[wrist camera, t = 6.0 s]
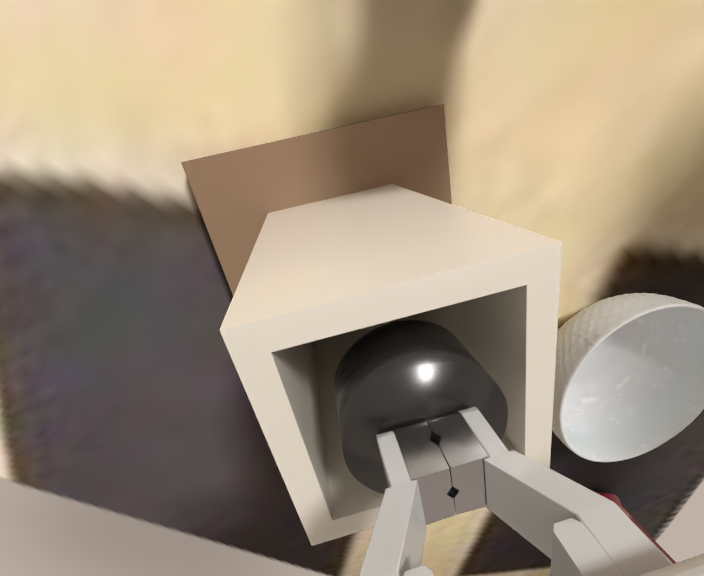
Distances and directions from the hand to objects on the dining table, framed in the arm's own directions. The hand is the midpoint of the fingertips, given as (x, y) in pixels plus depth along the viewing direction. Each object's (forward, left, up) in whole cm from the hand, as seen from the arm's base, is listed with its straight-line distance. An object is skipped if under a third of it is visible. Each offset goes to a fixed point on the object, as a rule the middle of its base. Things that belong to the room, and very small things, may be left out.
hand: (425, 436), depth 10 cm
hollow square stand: (0, 0, -19) cm, 19 cm away
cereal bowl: (-23, +17, -20) cm, 35 cm away
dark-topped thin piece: (0, 0, -17) cm, 17 cm away
